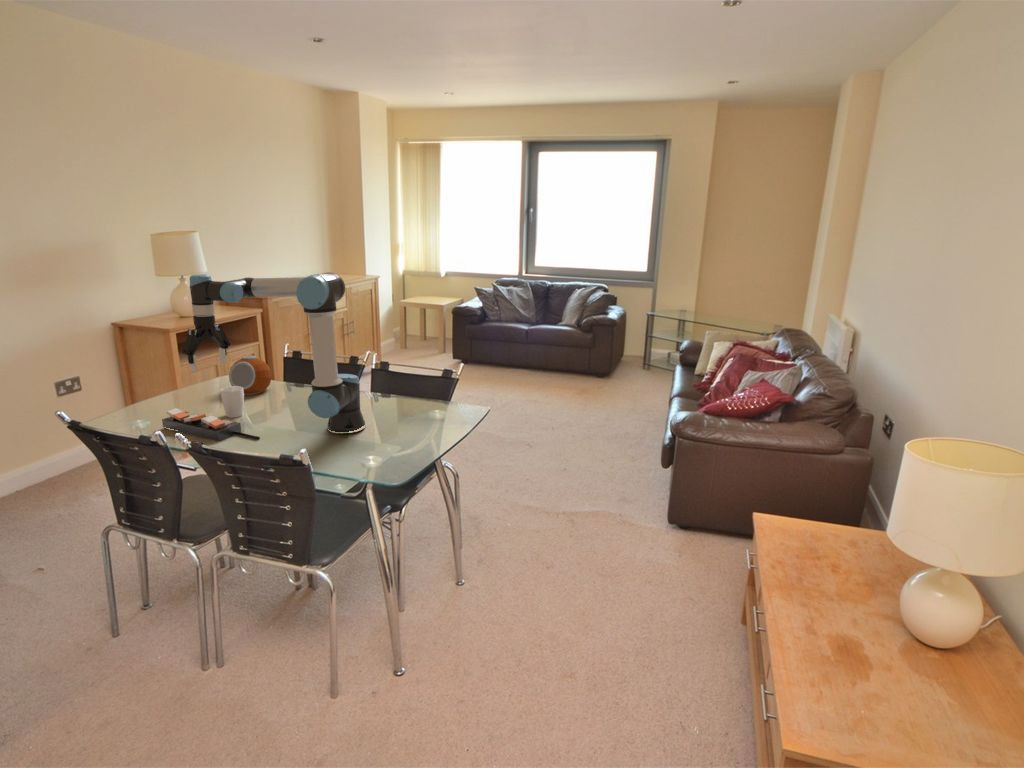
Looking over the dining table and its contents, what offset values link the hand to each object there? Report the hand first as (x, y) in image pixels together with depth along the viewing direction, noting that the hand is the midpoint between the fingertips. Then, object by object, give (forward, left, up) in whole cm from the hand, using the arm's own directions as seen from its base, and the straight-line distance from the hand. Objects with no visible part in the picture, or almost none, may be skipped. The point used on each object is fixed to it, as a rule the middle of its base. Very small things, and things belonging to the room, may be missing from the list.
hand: (209, 367), depth 239 cm
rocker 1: (+11, +8, -20) cm, 24 cm away
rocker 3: (-8, +8, -20) cm, 23 cm away
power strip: (-5, +5, -25) cm, 26 cm away
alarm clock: (+24, -44, -25) cm, 56 cm away
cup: (+4, -14, -25) cm, 29 cm away
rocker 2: (+1, +8, -20) cm, 21 cm away
